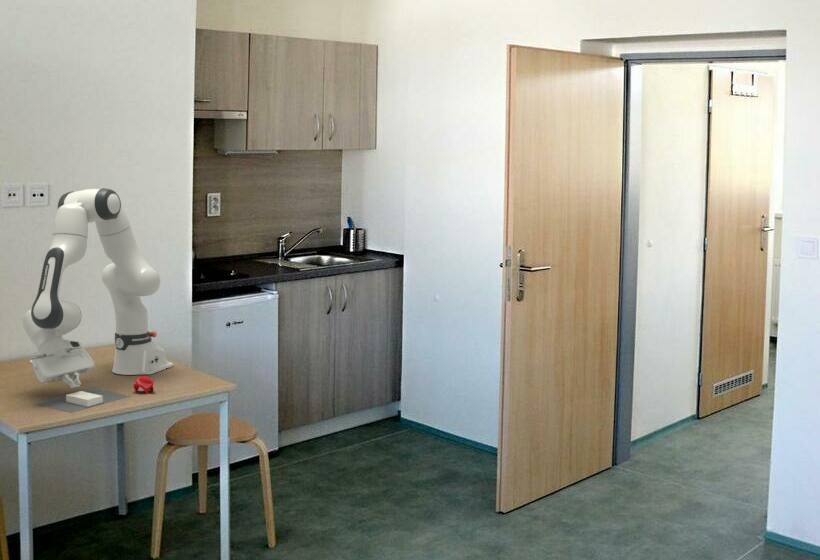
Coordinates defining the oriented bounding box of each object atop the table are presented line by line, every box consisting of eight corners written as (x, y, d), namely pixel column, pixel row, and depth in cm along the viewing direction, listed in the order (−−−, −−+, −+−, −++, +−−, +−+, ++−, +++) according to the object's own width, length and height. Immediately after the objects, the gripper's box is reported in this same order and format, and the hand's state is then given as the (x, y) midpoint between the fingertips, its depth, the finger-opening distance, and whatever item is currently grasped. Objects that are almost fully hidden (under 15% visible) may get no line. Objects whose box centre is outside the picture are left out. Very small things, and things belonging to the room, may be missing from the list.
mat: (92, 389, 344) (92, 387, 344) (130, 398, 335) (130, 396, 335) (32, 405, 324) (32, 403, 324) (71, 414, 315) (71, 412, 315)
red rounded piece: (146, 388, 336) (157, 375, 340) (131, 380, 337) (141, 368, 341) (147, 402, 341) (158, 390, 345) (132, 395, 343) (143, 383, 347)
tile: (81, 390, 331) (102, 395, 326) (81, 398, 331) (102, 403, 326) (66, 394, 326) (87, 399, 321) (66, 402, 326) (87, 407, 321)
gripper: (32, 352, 321) (54, 387, 317) (84, 341, 338) (105, 374, 334) (23, 363, 324) (45, 399, 320) (75, 352, 341) (96, 385, 337)
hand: (76, 386), depth 327 cm, fingers closed
